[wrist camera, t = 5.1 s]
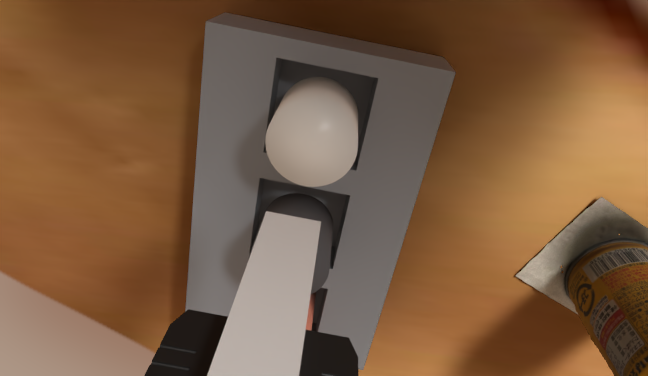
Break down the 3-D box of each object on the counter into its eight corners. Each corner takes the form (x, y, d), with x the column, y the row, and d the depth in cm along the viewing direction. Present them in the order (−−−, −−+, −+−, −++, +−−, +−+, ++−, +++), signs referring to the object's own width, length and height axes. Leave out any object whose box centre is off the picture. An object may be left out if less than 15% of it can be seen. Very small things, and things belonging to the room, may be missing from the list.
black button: (267, 186, 26) (253, 224, 23) (339, 200, 26) (336, 240, 23) (258, 246, 28) (244, 290, 24) (326, 259, 28) (321, 305, 24)
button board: (225, 12, 26) (205, 21, 22) (443, 57, 26) (455, 72, 23) (200, 300, 35) (183, 336, 31) (362, 331, 35) (363, 370, 32)
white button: (285, 69, 23) (271, 91, 20) (366, 85, 23) (367, 110, 20) (274, 144, 25) (259, 177, 21) (349, 159, 25) (347, 194, 22)
